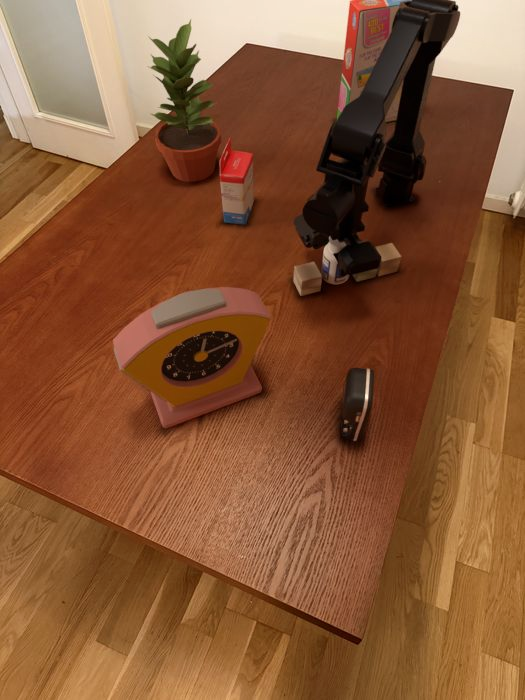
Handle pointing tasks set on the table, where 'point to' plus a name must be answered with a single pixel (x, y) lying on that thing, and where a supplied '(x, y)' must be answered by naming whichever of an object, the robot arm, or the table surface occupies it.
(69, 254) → the table surface
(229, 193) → the ink box
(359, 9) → the game box
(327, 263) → the pill bottle
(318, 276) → the block line
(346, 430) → the battery charger
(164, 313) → the toy desk clock
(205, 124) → the potted plant
